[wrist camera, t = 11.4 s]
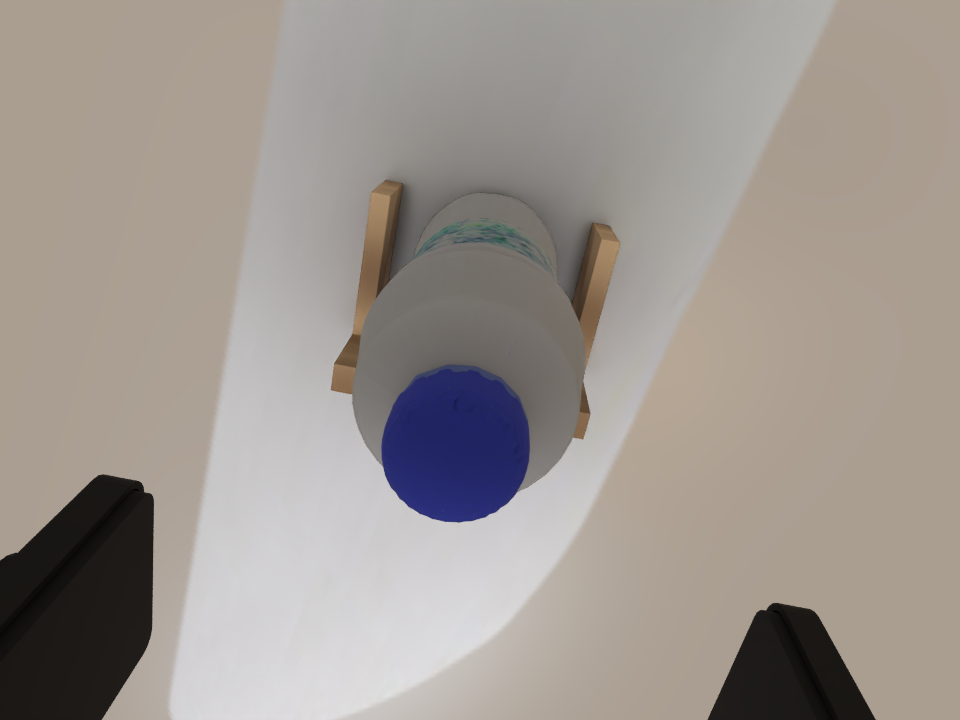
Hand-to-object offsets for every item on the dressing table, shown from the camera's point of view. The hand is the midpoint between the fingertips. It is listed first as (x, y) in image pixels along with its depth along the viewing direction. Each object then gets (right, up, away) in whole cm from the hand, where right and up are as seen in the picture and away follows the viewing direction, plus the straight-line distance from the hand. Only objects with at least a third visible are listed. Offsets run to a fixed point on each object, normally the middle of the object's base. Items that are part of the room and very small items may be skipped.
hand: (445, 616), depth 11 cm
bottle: (+1, +9, +23) cm, 25 cm away
